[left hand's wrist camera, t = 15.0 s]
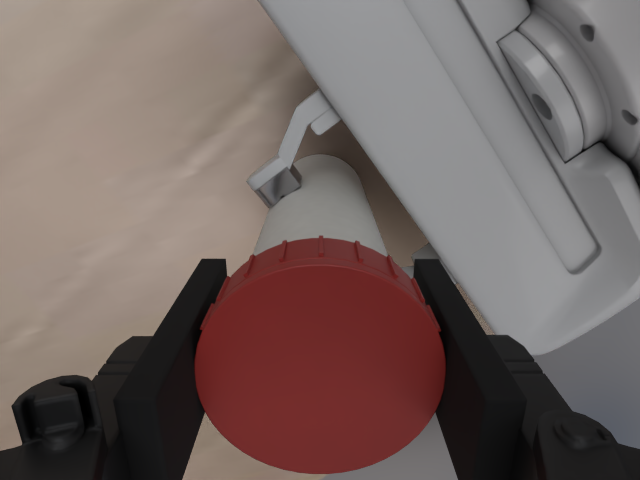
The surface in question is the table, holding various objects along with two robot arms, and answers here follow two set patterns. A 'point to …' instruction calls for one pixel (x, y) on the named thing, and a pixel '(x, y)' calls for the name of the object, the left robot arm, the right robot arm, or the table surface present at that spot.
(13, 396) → the table surface
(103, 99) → the table surface
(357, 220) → the jar
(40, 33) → the table surface
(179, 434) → the left robot arm
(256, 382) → the lid
